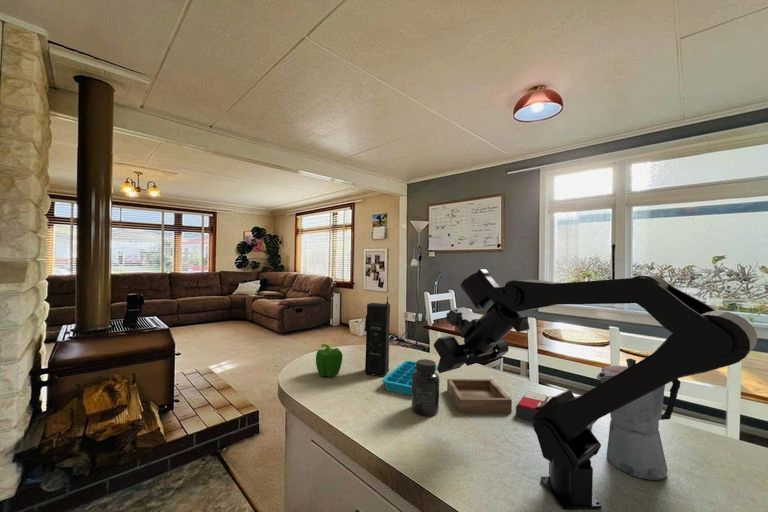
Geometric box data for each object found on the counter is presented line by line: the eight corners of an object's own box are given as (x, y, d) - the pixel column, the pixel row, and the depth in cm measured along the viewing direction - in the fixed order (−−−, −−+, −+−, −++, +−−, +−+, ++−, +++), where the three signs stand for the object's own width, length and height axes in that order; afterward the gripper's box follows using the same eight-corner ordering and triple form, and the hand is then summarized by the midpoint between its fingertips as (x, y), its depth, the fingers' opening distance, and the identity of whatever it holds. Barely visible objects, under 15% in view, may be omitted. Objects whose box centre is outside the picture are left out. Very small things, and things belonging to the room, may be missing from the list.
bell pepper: (345, 371, 104) (345, 340, 104) (337, 380, 96) (338, 348, 96) (320, 369, 105) (321, 339, 105) (311, 378, 97) (312, 346, 97)
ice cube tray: (438, 375, 103) (438, 365, 103) (418, 399, 85) (418, 388, 85) (405, 368, 108) (406, 360, 108) (380, 391, 90) (380, 380, 90)
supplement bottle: (417, 401, 83) (418, 356, 83) (442, 407, 80) (443, 360, 80) (406, 412, 77) (407, 363, 77) (433, 419, 74) (434, 369, 74)
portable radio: (361, 374, 101) (362, 297, 101) (367, 368, 107) (369, 295, 107) (384, 377, 99) (386, 298, 99) (389, 370, 105) (391, 296, 105)
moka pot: (580, 449, 63) (582, 351, 63) (651, 448, 64) (653, 351, 64) (618, 484, 54) (621, 368, 54) (701, 481, 55) (703, 367, 55)
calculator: (526, 388, 85) (592, 402, 75) (527, 405, 85) (593, 420, 75) (515, 403, 76) (588, 421, 67) (515, 421, 76) (589, 441, 67)
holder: (511, 413, 78) (511, 399, 78) (460, 412, 77) (460, 399, 77) (491, 390, 91) (491, 379, 91) (447, 390, 90) (447, 378, 90)
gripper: (496, 294, 74) (460, 333, 83) (439, 299, 63) (405, 343, 72) (528, 333, 67) (486, 371, 76) (471, 346, 57) (429, 388, 65)
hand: (452, 367), depth 72 cm, fingers open, 9 cm apart
